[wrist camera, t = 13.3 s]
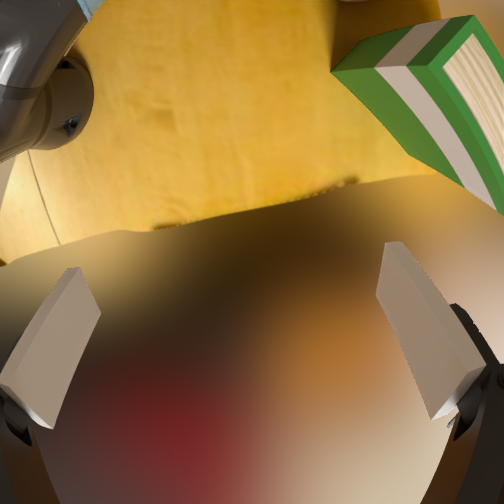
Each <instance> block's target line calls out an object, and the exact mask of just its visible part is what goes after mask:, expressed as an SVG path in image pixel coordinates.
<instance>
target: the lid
mask: <svg viewBox="0 0 504 504" xmlns="http://www.w3.org/2000/svg"><path fill="white" fill-rule="evenodd" d="M339 1H346V2H364V1H371V0H339Z"/></svg>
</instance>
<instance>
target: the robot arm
mask: <svg viewBox="0 0 504 504" xmlns="http://www.w3.org/2000/svg"><path fill="white" fill-rule="evenodd" d="M103 1H104V0H0V163H2V162H4V161H6V160H7V159H10V158H12V157H14V156H15V155H17V154H19V153H21V152H23V151H25V150H28V149H37V150H52V149H56V148H59V147H61V146H63V145H65V144H68V143H69V142H71V141H72V140H74V139H75V138H76V137H77V136H78V135H79V134H80V133H81V131H82V130H83V129H84V127H85V125H86V123H87V121H88V119H89V117H90V114H91V110H92V106H93V85H92V80H91V77H90V75H89V73H88V71H87V69H86V68H85V67H84V65H83V64H82V63H80V62H79V61H78V60H76V59H74V58H71V57H67V56H64V54H65V53H66V51H67V50H68V48H69V47H70V46H71V44H72V43H73V41H74V40H75V39H76V37H77V36H78V34H79V33H80V32H81V30H82V29H83V28H84V26H85V25H86V24H87V23H89V22H90V21H91V19H92V15H93V14H94V13H95V11H96V10H97V9H98V7H99V6H100V5H101V4H102V2H103ZM376 296H377V298H378V300H379V302H380V304H381V306H382V309H383V311H384V312H385V315H386V317H387V319H388V321H389V323H390V325H391V327H392V329H393V331H394V333H395V335H396V338H397V340H398V342H399V344H400V346H401V349H402V351H403V353H404V355H405V357H406V360H407V362H408V364H409V366H410V369H411V371H412V374H413V376H414V379H415V381H416V383H417V386H418V388H419V391H420V393H421V396H422V398H423V400H424V403H425V406H426V408H427V411H428V414H429V417H430V419H431V420H433V419H436V418H439V417H441V416H444V415H447V414H449V413H450V412H451V411H452V409H453V408H454V407H455V406H456V405H457V407H458V409H459V412H458V413H457V414H456V416H455V417H454V418H453V419H452V420H451V421H450V422H449V424H448V425H447V428H449V427H450V426H451V425H452V424H453V423H454V424H453V428H452V431H451V434H450V436H449V439H448V442H447V445H446V447H445V450H444V453H443V455H442V458H441V460H440V463H439V465H438V467H437V470H436V472H435V474H434V476H433V479H432V481H431V483H430V485H429V487H428V489H427V491H426V494H425V496H424V497H423V499H422V501H421V503H420V504H504V364H500V363H499V361H498V360H497V358H496V357H495V355H494V353H493V352H492V350H491V348H490V347H489V345H488V343H487V342H486V340H485V339H484V337H483V336H482V334H481V333H480V332H479V329H478V328H477V326H476V325H475V324H473V320H472V319H471V318H470V316H469V315H468V313H467V312H466V311H465V310H464V309H463V308H461V307H460V306H459V305H457V304H456V303H455V304H450V305H449V304H448V303H447V301H446V300H445V298H444V297H443V296H442V294H441V293H440V291H439V290H438V289H437V287H436V286H435V285H434V283H433V282H432V280H431V279H430V278H429V276H428V275H427V274H426V272H425V271H424V270H423V268H422V267H421V266H420V264H419V263H418V262H417V260H416V259H415V258H414V257H413V255H412V254H411V253H410V252H409V250H408V249H407V248H406V247H405V245H404V244H403V243H402V242H401V241H399V242H387V243H385V248H384V254H383V260H382V265H381V270H380V276H379V281H378V286H377V291H376ZM100 315H101V312H100V310H99V308H98V306H97V304H96V302H95V300H94V298H93V296H92V293H91V291H90V289H89V287H88V285H87V282H86V280H85V278H84V276H83V273H82V271H81V269H80V267H78V268H68V269H67V270H66V271H65V273H64V274H63V275H62V277H61V278H60V279H59V281H58V282H57V284H56V285H55V286H54V288H53V289H52V290H51V292H50V293H49V295H48V296H47V298H46V299H45V301H44V302H43V303H42V305H41V307H40V308H39V310H38V311H37V312H36V314H35V316H34V317H33V319H32V320H31V322H30V323H29V325H28V327H27V328H26V330H25V332H23V333H22V334H21V336H19V338H18V339H17V340H16V342H15V344H14V345H13V347H12V350H10V352H9V354H8V357H7V358H6V359H5V361H4V363H3V365H2V366H1V368H0V504H60V502H59V499H58V497H57V495H56V493H55V490H54V488H53V485H52V483H51V480H50V478H49V475H48V472H47V470H46V467H45V464H44V461H43V458H42V455H41V452H40V449H39V446H38V443H37V439H36V436H35V432H34V429H33V426H32V424H31V423H29V420H30V417H31V418H32V419H33V420H34V421H36V422H37V423H38V424H39V425H42V426H44V427H47V428H51V429H53V427H54V425H55V421H56V419H57V416H58V413H59V410H60V407H61V405H62V402H63V400H64V397H65V394H66V392H67V389H68V387H69V384H70V382H71V379H72V377H73V374H74V372H75V370H76V367H77V365H78V362H79V360H80V358H81V356H82V353H83V350H84V349H85V347H86V344H87V342H88V340H89V338H90V336H91V333H92V331H93V329H94V327H95V325H96V323H97V321H98V319H99V317H100Z"/></svg>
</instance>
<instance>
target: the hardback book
mask: <svg viewBox="0 0 504 504" xmlns="http://www.w3.org/2000/svg"><path fill="white" fill-rule="evenodd" d="M330 73H331V74H333V75H334V76H335V77H336V78H337V79H338V80H339V81H340V82H341V83H342V84H343V85H345V86H346V87H347V88H348V89H349V90H350V91H351V92H352V93H353V94H354V95H355V96H356V97H357V98H358V99H359V100H360V101H361V102H362V103H363V104H364V105H365V106H366V107H367V108H368V109H369V110H370V111H371V112H372V113H373V114H374V116H375V117H376V118H377V119H378V120H379V121H380V122H381V123H382V124H383V125H384V126H385V128H386V129H387V130H388V131H389V132H390V133H391V134H392V135H393V137H394V138H395V139H396V140H397V141H398V143H399V144H400V145H401V146H402V147H403V148H404V150H405V151H406V152H407V153H408V155H410V156H412V157H414V158H415V159H417V160H419V161H421V162H423V163H424V164H426V165H428V166H430V167H431V168H433V169H435V170H436V171H438V172H440V173H441V174H443V175H445V176H446V177H448V178H449V179H451V180H453V181H454V182H456V183H458V184H459V185H461V186H462V187H464V188H465V189H467V190H468V191H470V192H471V193H473V194H474V195H476V196H477V197H478V198H480V199H481V200H483V201H484V202H485V203H487V204H488V205H490V206H491V207H492V208H494V209H495V210H496V211H498V212H499V213H500V214H502V215H503V216H504V61H503V59H502V57H501V55H500V54H499V52H498V50H497V49H496V47H495V45H494V44H493V42H492V40H491V39H490V37H489V36H488V34H487V33H486V31H485V30H484V28H483V27H482V25H481V24H480V23H479V21H478V20H477V18H476V17H475V16H474V15H468V16H461V17H454V18H449V19H442V20H437V21H432V22H427V23H422V24H418V25H414V26H409V27H405V28H401V29H398V30H394V31H390V32H387V33H383V34H380V35H376V36H373V37H370V38H367V39H364V40H361V41H360V42H359V43H358V44H357V45H356V46H355V47H354V48H353V49H352V51H351V52H350V53H349V54H348V55H347V56H346V57H345V58H344V59H343V60H342V61H341V62H340V63H339V64H338V65H337V66H336V67H335V68H334V69H333V70H332V71H331V72H330Z"/></svg>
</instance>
